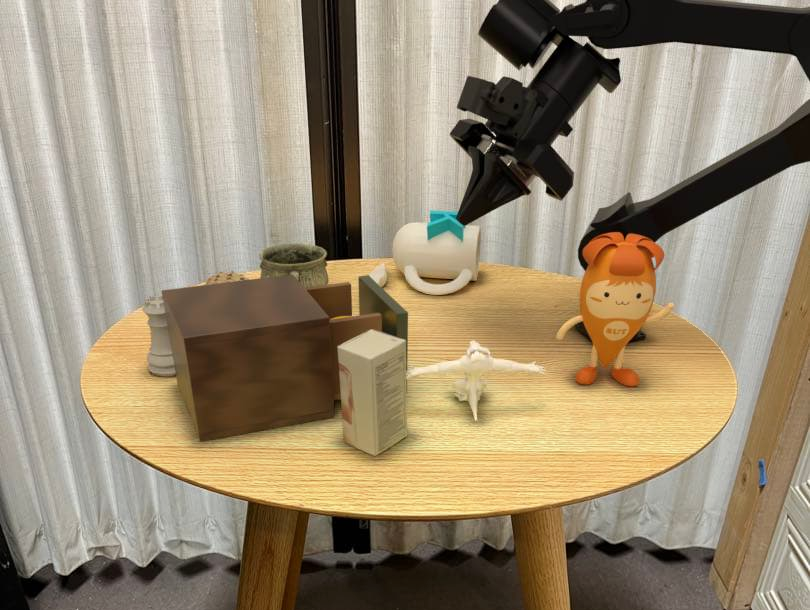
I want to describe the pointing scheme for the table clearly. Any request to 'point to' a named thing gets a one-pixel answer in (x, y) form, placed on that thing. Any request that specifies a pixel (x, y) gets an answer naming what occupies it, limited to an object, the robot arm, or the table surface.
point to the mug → (438, 252)
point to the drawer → (373, 314)
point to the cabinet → (250, 355)
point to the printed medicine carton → (373, 391)
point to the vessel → (295, 263)
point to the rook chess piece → (159, 338)
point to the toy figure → (616, 299)
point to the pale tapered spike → (379, 275)
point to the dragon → (473, 372)
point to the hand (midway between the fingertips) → (459, 222)
